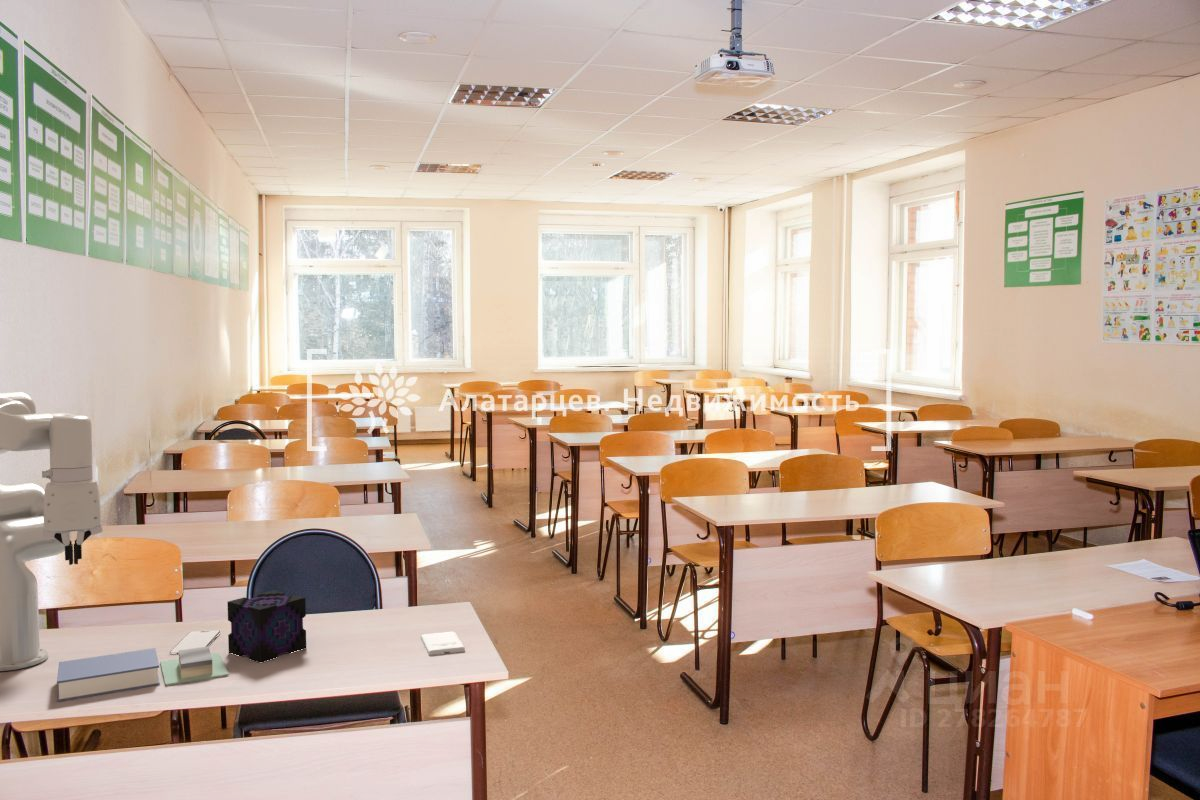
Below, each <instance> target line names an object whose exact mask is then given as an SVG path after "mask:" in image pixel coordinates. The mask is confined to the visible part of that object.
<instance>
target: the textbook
mask: <svg viewBox="0 0 1200 800" xmlns="http://www.w3.org/2000/svg"><path fill="white" fill-rule="evenodd" d="M158 668H160V664H159V659H158V654H157V650H156V647H154V648H153V647H152V648H147V649H140V650H134V651H127V652H119V653H113V654H106V655H99V656H93V657H91V656H90V657H86V658H80V659H79V658H78V659H73V660H65V661H60V662H59V661H58V667H57V678H56V684H58V691H57V692H58V693H57V702H63V701H70V700H76V699H82V698H88V697H94V696H99V695H106V694H112V693H119V692H124V691H129V690H136V689H142V688H149V687H154V686H155V687H156V686H160V685H161V684H160V683H161V682H160V678H159V671H158Z"/></svg>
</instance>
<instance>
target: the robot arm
mask: <svg viewBox="0 0 1200 800" xmlns="http://www.w3.org/2000/svg"><path fill="white" fill-rule="evenodd" d="M36 412H37V409H36V404H35V402H34V400H33V399H32V397H31V396H29V395H28V394H26V393H24V392H22V391H0V455H1V454H5V453H8V452H30V451H40V450H41V451H43V450H49V467H50V469H48V470H42V471H41V479H42V478H43V479H44V478H45V479H48V480H50V481H49V482H47V483H45V489H44V488H43V487H41V486H40V485H38V484H35V483H32V482H19V483H12V484H2V483H0V672H7V671H9V672H10V671H16V670H21V669H25V668H29V667H32V666H35V665H38V664H41V663H42V662H44V661H47V659H48V658H49V652H48V650H47V649H46V650H45V649H43V648H40V620H39V618H40V617H39V591H38V590H39V589H38V587H39V586H38V579H37V577H36V575H35V574H34V573H33V572H32V570H30V568H29V567H28V566H27V565H26V564H25V563H27V562H31V561H33V560H34V561H35V560H39V559H45V558H49V557H53V556H58V555H60V554H63V553H64V560H65V561H68V565H69V566H72V565H79V560H82V559H83V557H82V556H83V554H82V553H83V552H82V551H83V550H82V547H83V546H82V545H83V543H84V542H85V541H87V539H88V538H90V536H94V535H97V534H101V533H102V532H103V527H102V511H101V498H100V497H101V496H100V491H99V486H98V481H97V480H95V479H93V445H92V444H93V441H92V440H93V438H92V436H93V435H92V428H93V427H92V420H91V419H90V418H89V417H88V416H87V415H80V414H79V415H77V414H76V415H74V414H71V413H67V412H48V413H36ZM72 532H76V533H77V534H76V538H75V540H74V543H72V542H73V541H72V535H71V533H72Z"/></svg>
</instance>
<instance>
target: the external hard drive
mask: <svg viewBox="0 0 1200 800" xmlns="http://www.w3.org/2000/svg"><path fill="white" fill-rule="evenodd" d="M420 641H421V642H422V644H423V646H425V647H424V648H426V649H425V651H426V650H427V651H426V652H427V654H428V656H434V655H444V654H453V653H454V654H455V653H463V652H465V645H464V644H463V643H462V641H461V639H460V637H459V636H458V635H457V633H456V632H455V631H443V632H433V633H425V634H421V635H420Z"/></svg>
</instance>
